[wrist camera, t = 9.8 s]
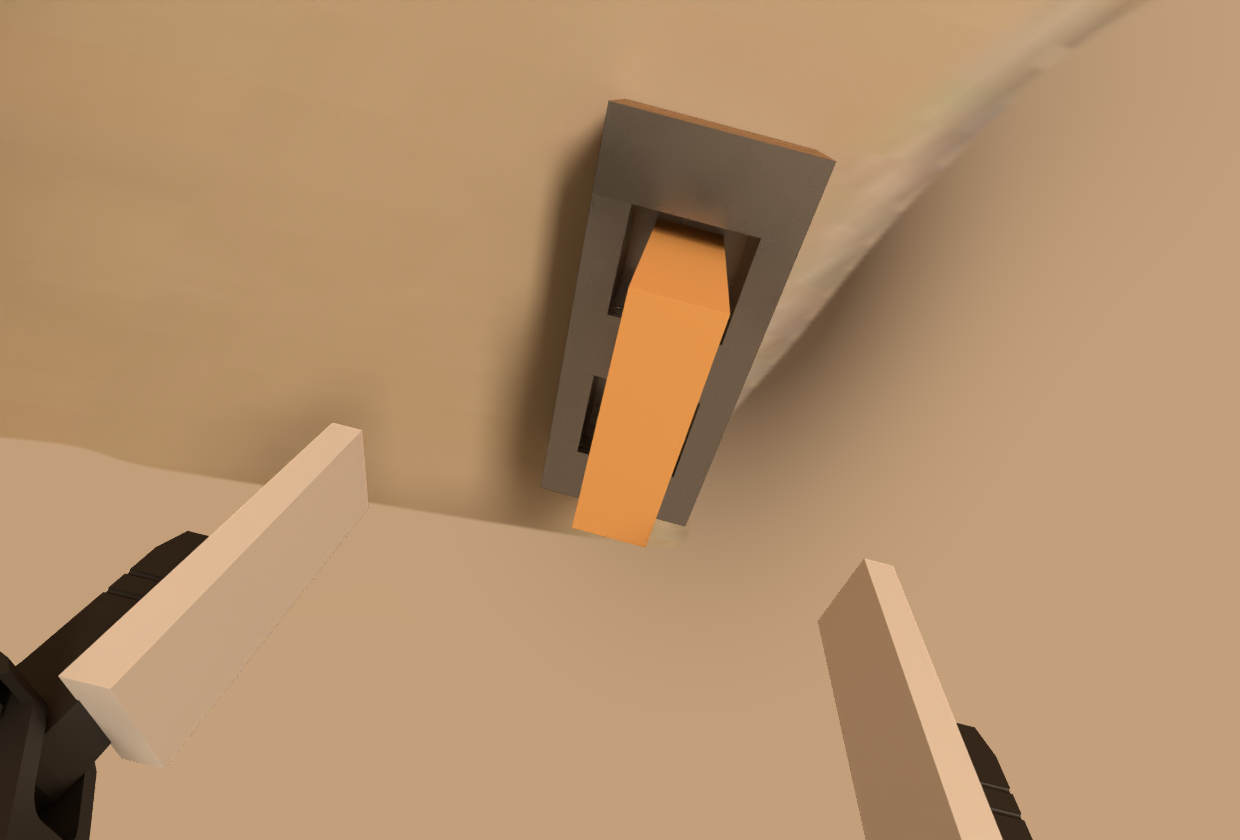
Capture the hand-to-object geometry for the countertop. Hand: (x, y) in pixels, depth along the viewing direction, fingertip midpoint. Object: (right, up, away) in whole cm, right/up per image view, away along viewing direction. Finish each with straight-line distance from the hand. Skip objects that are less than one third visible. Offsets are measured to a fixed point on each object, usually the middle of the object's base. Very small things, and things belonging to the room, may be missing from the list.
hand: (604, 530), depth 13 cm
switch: (+3, +8, +12) cm, 15 cm away
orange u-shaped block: (+2, +7, +12) cm, 14 cm away
